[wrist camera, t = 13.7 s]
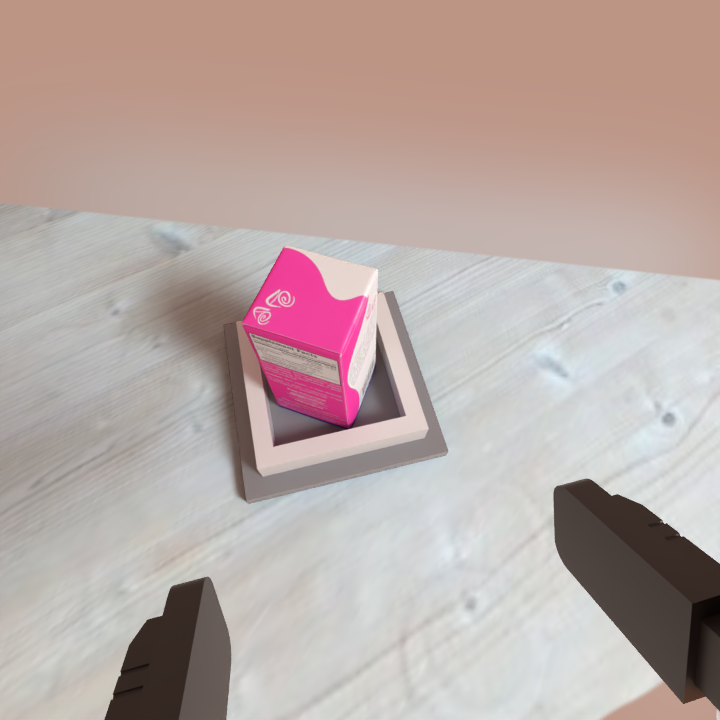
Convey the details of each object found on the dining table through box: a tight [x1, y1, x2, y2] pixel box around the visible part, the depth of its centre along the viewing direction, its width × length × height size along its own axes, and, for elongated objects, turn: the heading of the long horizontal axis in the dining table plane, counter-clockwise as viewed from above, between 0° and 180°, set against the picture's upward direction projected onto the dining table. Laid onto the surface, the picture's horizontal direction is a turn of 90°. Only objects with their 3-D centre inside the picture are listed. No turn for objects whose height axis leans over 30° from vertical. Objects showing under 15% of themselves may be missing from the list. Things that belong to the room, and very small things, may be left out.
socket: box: [224, 291, 448, 504], centre depth 34 cm, size 14×14×3 cm
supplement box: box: [242, 245, 378, 430], centre depth 29 cm, size 6×6×12 cm
